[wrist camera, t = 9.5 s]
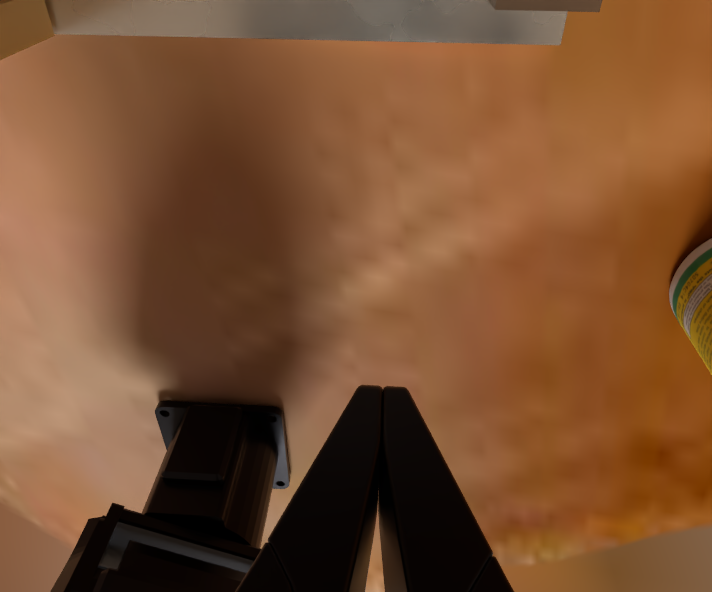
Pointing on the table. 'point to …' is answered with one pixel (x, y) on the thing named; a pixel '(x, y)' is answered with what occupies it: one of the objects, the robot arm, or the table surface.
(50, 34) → the tan wooden block
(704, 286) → the supplement bottle
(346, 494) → the robot arm
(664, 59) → the table surface
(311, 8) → the grey piece
